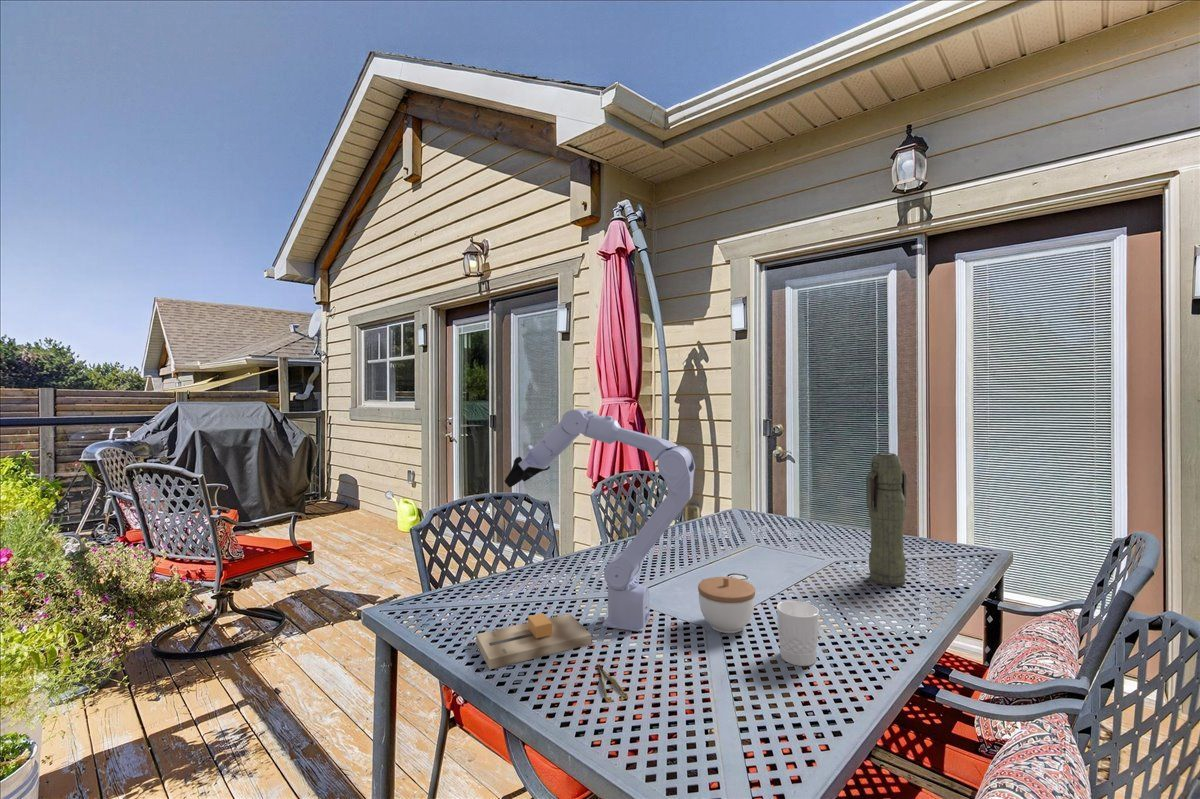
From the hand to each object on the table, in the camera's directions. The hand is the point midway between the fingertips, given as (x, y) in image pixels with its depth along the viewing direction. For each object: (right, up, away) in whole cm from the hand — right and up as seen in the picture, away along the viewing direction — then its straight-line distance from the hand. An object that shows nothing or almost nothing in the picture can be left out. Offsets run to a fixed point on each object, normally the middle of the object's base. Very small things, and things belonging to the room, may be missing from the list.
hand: (514, 481), depth 131 cm
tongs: (+22, -33, -33) cm, 52 cm away
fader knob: (+8, -30, -17) cm, 35 cm away
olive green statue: (+101, -30, +14) cm, 106 cm away
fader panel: (+7, -32, -18) cm, 37 cm away
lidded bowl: (+50, -31, -11) cm, 60 cm away
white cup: (+61, -32, -26) cm, 73 cm away
